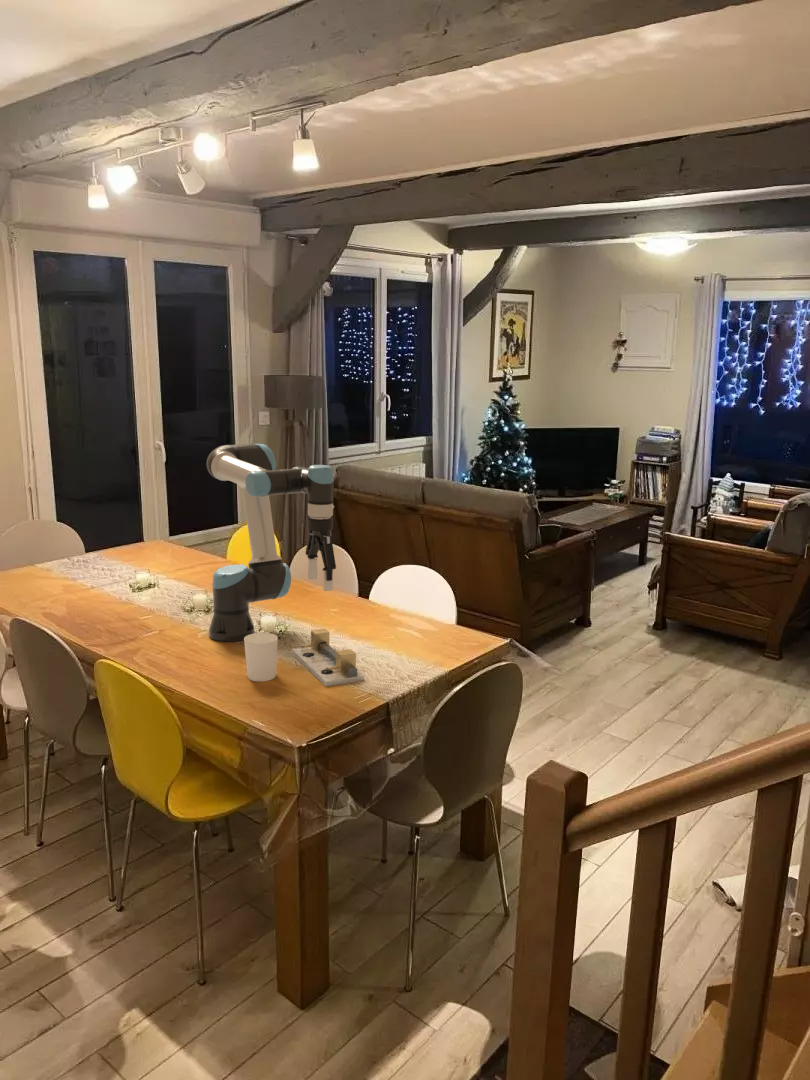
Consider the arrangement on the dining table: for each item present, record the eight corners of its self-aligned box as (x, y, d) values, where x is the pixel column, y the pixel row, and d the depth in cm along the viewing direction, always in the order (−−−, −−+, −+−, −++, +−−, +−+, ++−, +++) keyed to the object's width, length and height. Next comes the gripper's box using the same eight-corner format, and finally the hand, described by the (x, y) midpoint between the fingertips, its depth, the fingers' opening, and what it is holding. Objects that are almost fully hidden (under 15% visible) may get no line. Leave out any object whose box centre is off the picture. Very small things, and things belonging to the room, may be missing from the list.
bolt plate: (326, 686, 236) (326, 664, 235) (292, 653, 262) (291, 633, 261) (364, 680, 242) (364, 658, 240) (327, 648, 268) (327, 628, 266)
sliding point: (303, 650, 260) (302, 635, 259) (298, 646, 264) (298, 631, 263) (329, 646, 264) (329, 632, 263) (324, 643, 268) (324, 628, 266)
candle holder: (280, 670, 248) (279, 632, 245) (276, 682, 238) (275, 643, 236) (247, 670, 248) (246, 632, 245) (242, 682, 238) (241, 643, 235)
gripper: (347, 524, 238) (346, 594, 243) (318, 508, 260) (317, 573, 265) (323, 525, 235) (322, 596, 240) (295, 510, 257) (295, 575, 262)
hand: (320, 584), depth 252 cm, fingers open, 13 cm apart
